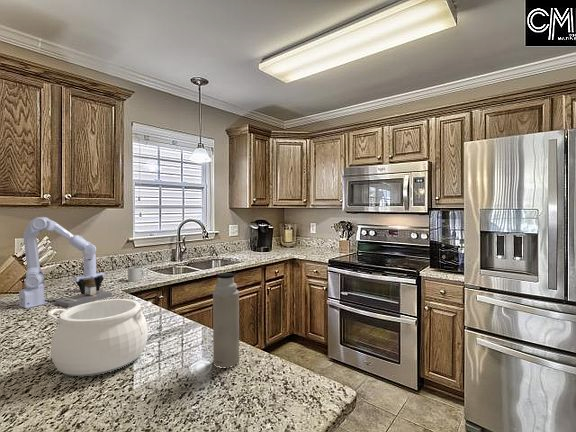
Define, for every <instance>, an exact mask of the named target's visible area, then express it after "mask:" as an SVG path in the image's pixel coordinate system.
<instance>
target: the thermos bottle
mask: <svg viewBox="0 0 576 432" xmlns="http://www.w3.org/2000/svg"><path fill="white" fill-rule="evenodd" d="M217 277H218V279H217V283H216V284H215V285H214V291H213V292H212V327H213V328H212V333H213V334H212V336H213V337H212V340H213V341H212V342H213V344H212V345H213V346H212V348H213V350H212V353H213V357H212V358H213V363H214V364H215V365H216V366H220V367H229V366H232V365H235V364H237V363H238V362H240V290H238V289H237V288H238V285H237V283H235V279H234V277H235V273H232V272H223V273H219V274H218V275H217ZM214 364H213V365H214ZM238 364H239V363H238ZM238 364H237V365H238Z"/></svg>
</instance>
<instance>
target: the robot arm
mask: <svg viewBox="0 0 576 432" xmlns="http://www.w3.org/2000/svg"><path fill="white" fill-rule="evenodd" d="M45 230H46V231H50V232H51V231H52V232H55V233H57V234H58V235H61V237H63V238H65V239H67V240H68V242H69V245H70V246H73V247H74V248H75V249H77V250H78V251H80V252H82V254H83V275H80V276H77V277H74V282H75V283H76V285H77V286H78V288H79V290H80V294H85V284H86V282H85V281H84V280H87V279H92V278H94V280H95V285H96V291H99V290H100V288H101V287H102V286H101V285H102V283H103V281H104V278H105V272H98V273H97V257H96V256H97V255H96V252H97V247H96V245H95V244H93V243H92V242H91V241H87V240H86V239H85V238H84V237H83V236H82V235H79V234H73V233H72V232H70V231H68V230H67V229H66V228H65V227H63V226H62V225H61V224H59V223H58V222H56V221H54V220H52V219H50V218H49V217H46V216H38V217H35V218H34V219H31V221H29V222H28V225H27V226H26V228H25V230H24V232H23V233H22V236H23V245H24V252H25V262H26V273H25V279H24V281H23V282H24V285H25V288H23V289H20V290H19V292H18V304H19V305H18V307H21V308H24V309H29V308H33V307H38V306H43V305H47V304H49V302H48V301H46V300H45V284H44V283H43V282H44V281H45V278H46V276H45V274H44V273H43V269H42V268H41V266H40V265H41V264H40V256H39V255H40V254H39V248H38V247H39V246H38V240H37V239H38V238H37V236H38V235H39V234H40V233H41V232H42V231H45Z"/></svg>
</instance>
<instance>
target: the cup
mask: <svg viewBox="0 0 576 432" xmlns="http://www.w3.org/2000/svg"><path fill="white" fill-rule="evenodd" d="M144 276H145V270H144V268H142V267H140V266H130V267H128V268H127V281H128V282H129V283H136V282H137V283H138V282H140V281H141V279H142V278H144Z"/></svg>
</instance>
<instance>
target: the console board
mask: <svg viewBox="0 0 576 432" xmlns="http://www.w3.org/2000/svg"><path fill="white" fill-rule="evenodd" d="M112 296H113V294H112V292H111V291H110V292H109V291H106V290H100V289H99V291H96V294H93V295H87V294H81V293H80V294H76V295H70V296H68V297H64V298H58V299H55V301H54V304H55V305H57V306H61V307H64V308H65V307H66V308H72V307H74V306H77V305H81V304H85V303H89V302H95V301H100V300H104V299H107V298H110V297H112ZM106 297H107V298H106ZM99 299H100V300H99Z"/></svg>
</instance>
